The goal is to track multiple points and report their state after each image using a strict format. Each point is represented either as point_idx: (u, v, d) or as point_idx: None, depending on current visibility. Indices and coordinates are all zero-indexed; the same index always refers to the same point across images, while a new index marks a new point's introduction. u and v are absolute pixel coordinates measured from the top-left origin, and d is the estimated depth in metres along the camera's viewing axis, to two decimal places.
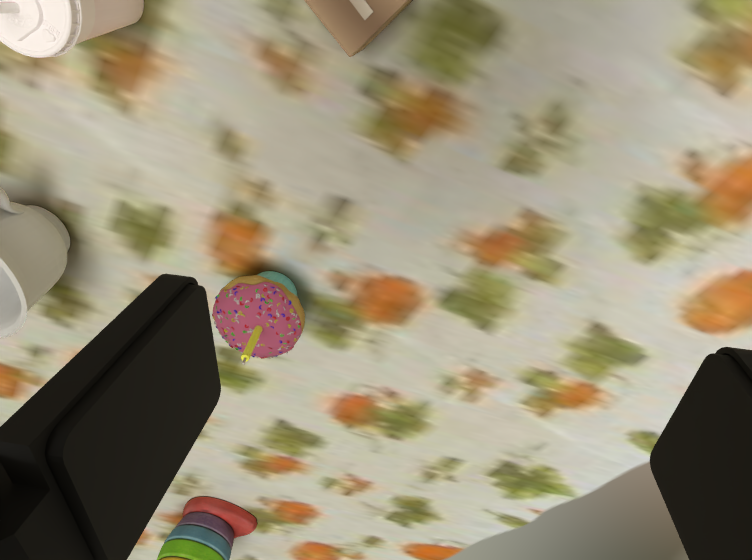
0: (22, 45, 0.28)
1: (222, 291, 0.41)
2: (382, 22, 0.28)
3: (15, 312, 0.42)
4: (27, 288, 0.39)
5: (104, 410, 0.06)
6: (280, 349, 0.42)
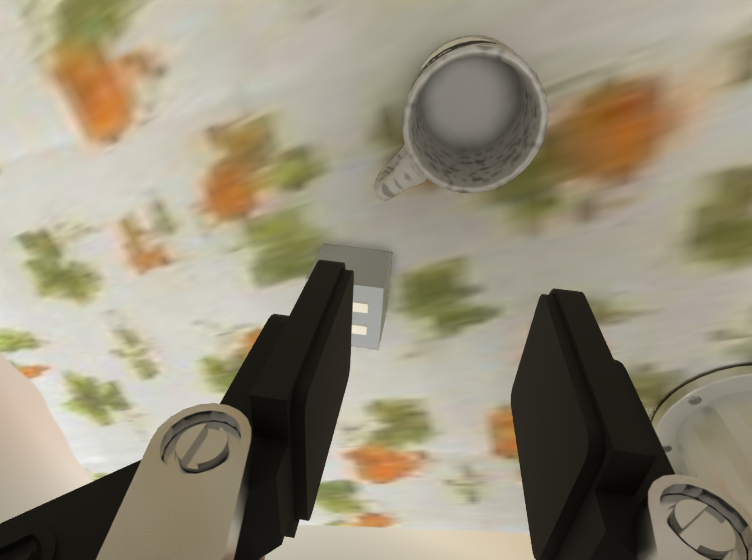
0: None
1: None
2: None
3: None
4: None
5: (318, 375, 0.07)
6: None
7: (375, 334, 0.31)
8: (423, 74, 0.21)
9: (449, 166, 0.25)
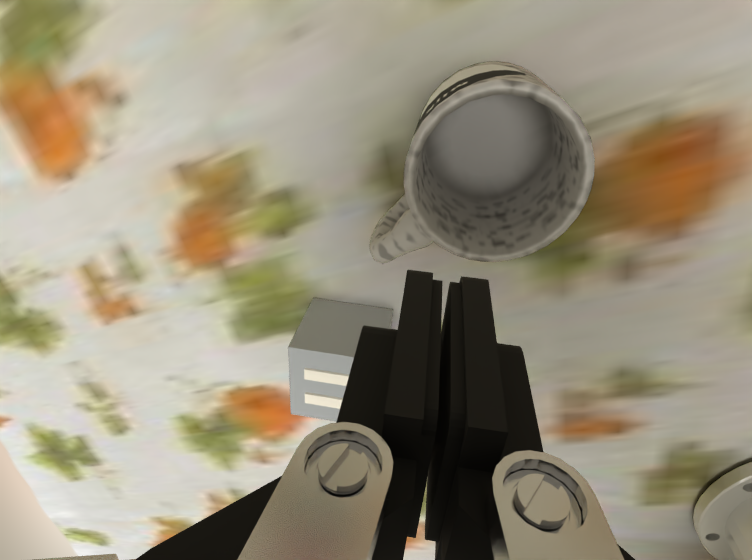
0: None
1: None
2: None
3: None
4: None
5: (437, 391, 0.07)
6: None
7: None
8: (431, 115, 0.16)
9: (463, 222, 0.20)
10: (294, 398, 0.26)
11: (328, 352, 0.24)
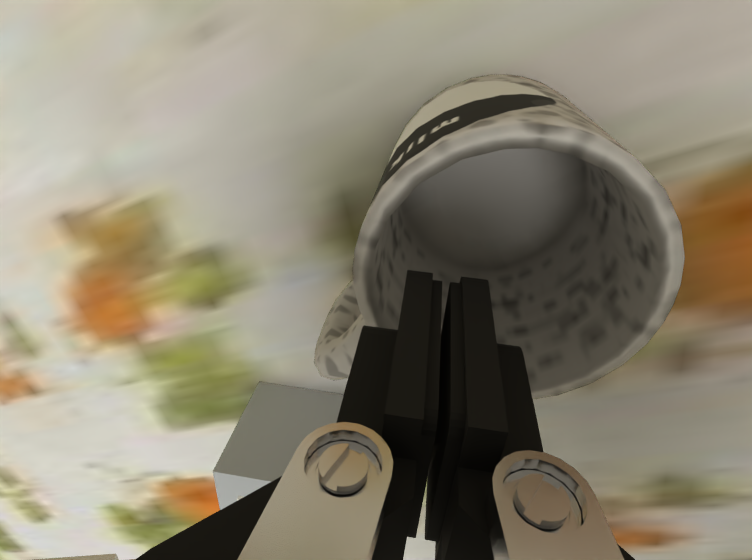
0: None
1: None
2: None
3: None
4: None
5: (437, 391, 0.07)
6: None
7: None
8: (395, 181, 0.09)
9: None
10: None
11: (268, 479, 0.17)
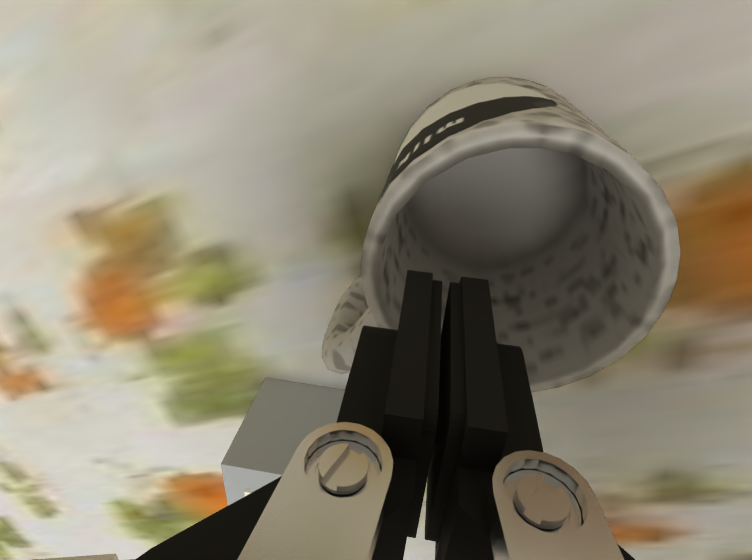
0: None
1: None
2: None
3: None
4: None
5: (437, 391, 0.07)
6: None
7: None
8: (402, 179, 0.09)
9: None
10: None
11: (275, 471, 0.18)
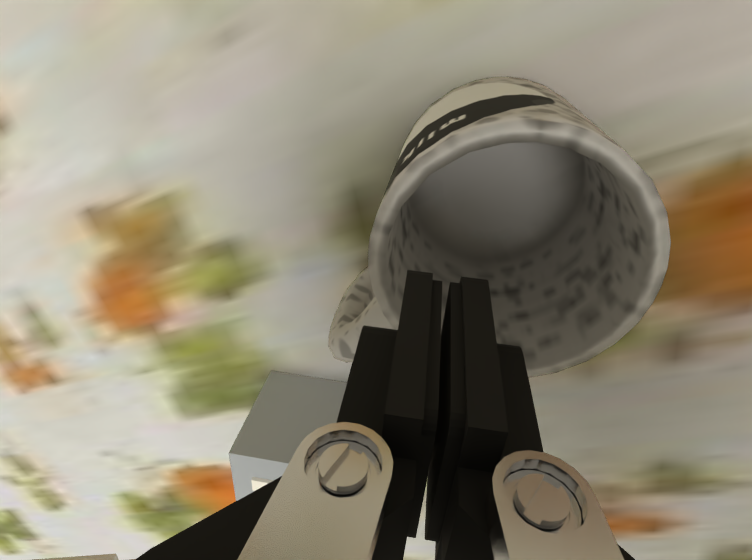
0: None
1: None
2: None
3: None
4: None
5: (437, 391, 0.07)
6: None
7: None
8: (408, 173, 0.10)
9: None
10: None
11: (281, 460, 0.18)
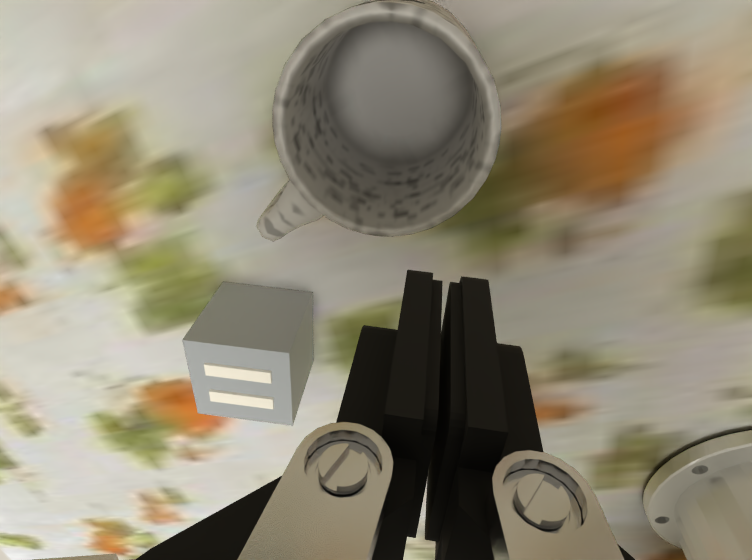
0: None
1: None
2: None
3: None
4: None
5: (437, 391, 0.07)
6: None
7: (286, 407, 0.23)
8: (296, 51, 0.13)
9: (365, 190, 0.17)
10: (199, 396, 0.23)
11: (228, 344, 0.21)
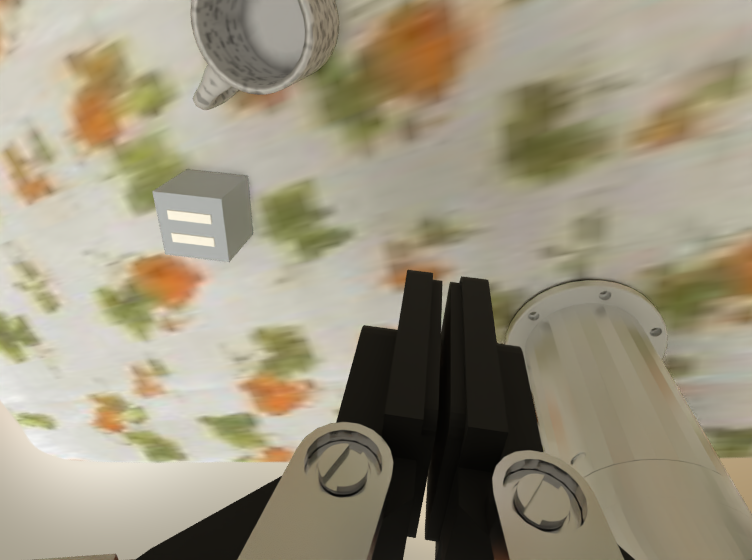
0: None
1: None
2: None
3: None
4: None
5: (437, 391, 0.07)
6: None
7: (223, 246, 0.34)
8: None
9: (258, 77, 0.28)
10: (165, 239, 0.34)
11: (182, 194, 0.32)
